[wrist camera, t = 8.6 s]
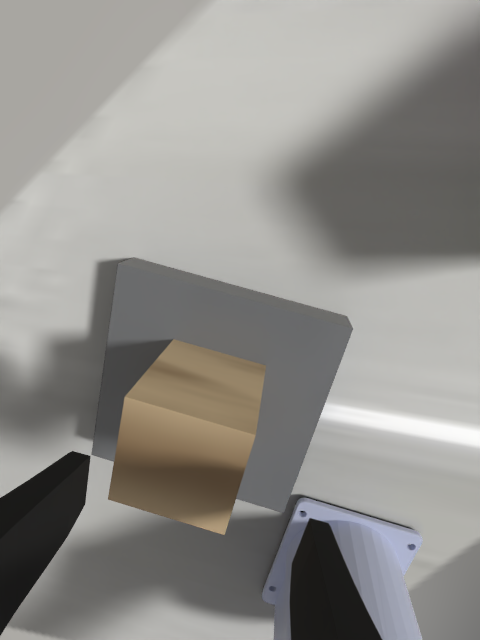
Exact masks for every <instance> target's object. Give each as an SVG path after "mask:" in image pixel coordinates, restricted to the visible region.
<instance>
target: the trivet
mask: <svg viewBox="0 0 480 640" xmlns="http://www.w3.org/2000/svg"><path fill="white" fill-rule="evenodd" d="M352 330H353V327H352V325H351V323H350V321H349V319H348V317H347V316H344V315H340V314H336V313H333V312H329V311H326V310H322V309H318V308H315V307H311V306H308V305H304V304H300V303H297V302H293V301H289V300H286V299H282V298H279V297H275V296H271V295H268V294H264V293H260V292H257V291H253V290H250V289H246V288H242V287H239V286H235V285H232V284H228V283H224V282H221V281H217V280H213V279H210V278H206V277H203V276H199V275H195V274H192V273H188V272H185V271H181V270H177V269H174V268H170V267H166V266H163V265H159V264H156V263H152V262H148V261H145V260H141V259H137V258H131V259H129V260H126V261H123V262H120V263H118V267H117V274H116V281H115V288H114V296H113V303H112V310H111V317H110V325H109V332H108V339H107V346H106V354H105V361H104V368H103V375H102V383H101V390H100V397H99V404H98V412H97V419H96V426H95V433H94V441H93V448H92V455H94V456H97V457H101V458H104V459H107V460H110V461H114V459H115V453H116V447H117V441H118V435H119V429H120V423H121V417H122V411H123V404H124V398H125V396H126V395H127V393H128V392H129V391H130V390H131V389H132V388H133V386H134V385H135V384H136V383H137V382H138V380H139V379H140V378H141V377H142V376H143V375H144V373H145V372H146V371H147V370H148V369H149V368H150V366H151V365H152V364H153V363H154V362H155V361H156V359H157V358H158V357H159V356H160V355H161V353H162V352H163V351H164V350H165V349H166V348H167V346H168V345H169V344H170V343H171V342H172V341H173V339H175V340H178V341H182V342H185V343H189V344H192V345H196V346H199V347H203V348H206V349H210V350H213V351H217V352H220V353H224V354H227V355H231V356H234V357H238V358H241V359H245V360H248V361H252V362H255V363H259V364H262V365H266V370H265V377H264V383H263V390H262V397H261V404H260V410H259V417H258V424H257V430H256V436H255V439H254V443H253V446H252V449H251V452H250V455H249V458H248V462H247V465H246V468H245V471H244V474H243V478H242V481H241V484H240V487H239V490H238V494H237V497H236V499H239V500H242V501H245V502H249V503H252V504H255V505H259V506H262V507H265V508H269V509H272V510H275V511H278V512H282V513H284V511H285V508H286V505H287V503H288V500H289V497H290V495H291V492H292V490H293V487H294V484H295V482H296V479H297V476H298V474H299V471H300V468H301V466H302V463H303V460H304V458H305V455H306V452H307V450H308V447H309V444H310V442H311V439H312V436H313V434H314V431H315V428H316V426H317V423H318V420H319V418H320V415H321V412H322V410H323V407H324V405H325V402H326V399H327V397H328V394H329V391H330V389H331V386H332V383H333V381H334V378H335V375H336V373H337V370H338V367H339V365H340V362H341V359H342V357H343V354H344V351H345V349H346V346H347V343H348V341H349V338H350V335H351V333H352Z"/></svg>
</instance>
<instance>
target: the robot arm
mask: <svg viewBox="0 0 480 640" xmlns="http://www.w3.org/2000/svg"><path fill="white" fill-rule="evenodd" d="M89 464H90V456H88V455H84V454H81V453H77V452H74V451H72V452H70V453H68V454H67V455H65V456H64V457H62V458H61V459H59V460H58V461H56V462H55V463H53V464H52V465H50V466H49V467H47V468H46V469H45V470H43V471H42V472H40V473H39V474H37V475H36V476H34V477H33V478H31V479H30V480H28V481H26V482H25V483H23V484H22V485H20V486H19V487H17V488H15V489H14V490H12V491H11V492H9V493H8V494H6V495H4V496H3V497H1V498H0V635H1V634H2V632H3V630H4V629H5V627H6V626H7V624H8V623H9V621H10V619H11V618H12V616H13V615H14V613H15V612H16V610H17V609H18V607H19V606H20V604H21V603H22V602H23V600H24V599H25V597H26V596H27V594H28V593H29V592H30V590H31V589H32V587H33V586H34V584H35V583H36V581H37V580H38V579H39V577H40V576H41V574H42V573H43V571H44V570H45V568H46V567H47V566H48V564H49V563H50V561H51V560H52V558H53V557H54V555H55V554H56V552H57V551H58V550H59V548H60V547H61V545H62V544H63V542H64V541H65V539H66V538H67V536H68V534H69V533H70V531H71V529H72V527H73V526H74V524H75V522H76V520H77V518H78V516H79V514H80V513H81V511H82V509H83V507H84V505H85V500H86V491H87V482H88V473H89ZM300 511H305V512H300ZM422 542H423V540H422V537H421V534H420V533H419V532H418V531H415V530H412V529H409V528H405V527H402V526H399V525H395V524H392V523H389V522H385V521H382V520H379V519H375V518H372V517H369V516H365V515H362V514H359V513H355V512H352V511H349V510H345V509H342V508H339V507H335V506H332V505H329V504H325V503H322V502H319V501H315V500H312V499H309V498H300V499H299V500H298V501H297V503H296V506H295V508H294V511H293V513H292V516H291V519H290V521H289V524H288V526H287V529H286V532H285V534H284V537H283V539H282V542H281V544H280V547H279V550H278V552H277V555H276V557H275V560H274V563H273V565H272V568H271V570H270V573H269V575H268V578H267V581H266V583H265V586H264V588H263V591H262V599H263V600H264V601H265V602H267V603H269V604H273V605H275V617H274V640H422V636H421V633H420V630H419V627H418V623H417V620H416V617H415V613H414V610H413V607H412V603H411V600H410V597H409V593H408V590H407V587H406V583H405V580H404V577H403V576H404V574H405V573H406V571H407V569H408V567H409V566H410V564H411V562H412V560H413V558H414V557H415V555H416V553H417V551H418V550H419V548H420V546H421V544H422ZM408 544H411V545H408Z"/></svg>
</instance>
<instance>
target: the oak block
mask: <svg viewBox="0 0 480 640" xmlns="http://www.w3.org/2000/svg"><path fill="white" fill-rule="evenodd" d="M265 370H266V365H262V364H259V363H255V362H252V361H248V360H245V359H241V358H238V357H234V356H231V355H227V354H224V353H220V352H217V351H213V350H210V349H206V348H203V347H199V346H196V345H192V344H189V343H185V342H182V341H178V340H175V339H173V341H172V342H171V343H170V344H169V345H168V346H167V348H166V349H165V350H164V351H163V352H162V353H161V355H160V356H159V357H158V358H157V359H156V361H155V362H154V363H153V364H152V365H151V366H150V368H149V369H148V370H147V371H146V372H145V373H144V375H143V376H142V377H141V378H140V379H139V380H138V382H137V383H136V384H135V385H134V386H133V388H132V389H131V390H130V391H129V392H128V393H127V395H126V396H125V398H124V404H123V411H122V417H121V423H120V429H119V435H118V441H117V447H116V453H115V459H114V466H113V472H112V478H111V484H110V490H109V496H108V499H109V500H112V501H115V502H118V503H122V504H125V505H128V506H131V507H135V508H138V509H141V510H144V511H148V512H151V513H154V514H157V515H161V516H164V517H167V518H170V519H174V520H177V521H180V522H183V523H186V524H190V525H193V526H196V527H199V528H203V529H206V530H209V531H212V532H216V533H219V534H222V535H225V532H226V529H227V525H228V522H229V519H230V516H231V513H232V509H233V506H234V503H235V500H236V497H237V494H238V490H239V487H240V484H241V481H242V478H243V474H244V471H245V468H246V465H247V462H248V458H249V455H250V452H251V449H252V446H253V443H254V439H255V436H256V430H257V424H258V417H259V410H260V404H261V397H262V390H263V383H264V377H265Z"/></svg>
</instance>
